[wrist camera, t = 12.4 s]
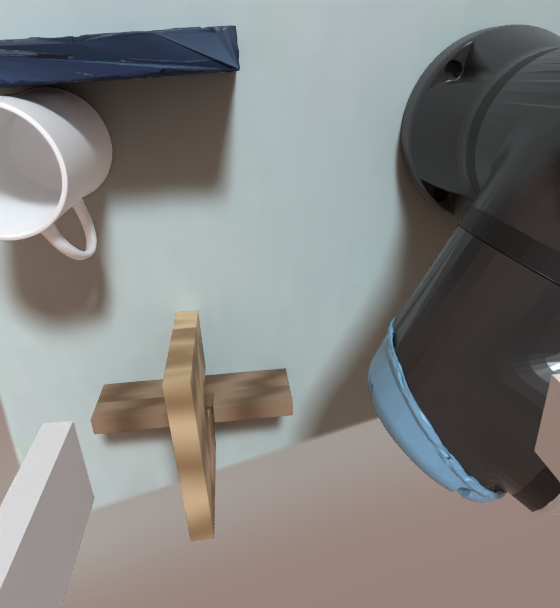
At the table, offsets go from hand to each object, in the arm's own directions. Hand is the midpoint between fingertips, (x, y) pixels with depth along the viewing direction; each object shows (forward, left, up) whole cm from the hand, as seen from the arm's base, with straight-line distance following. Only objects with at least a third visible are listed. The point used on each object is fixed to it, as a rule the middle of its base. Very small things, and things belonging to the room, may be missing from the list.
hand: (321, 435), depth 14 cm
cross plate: (+7, +19, -32) cm, 38 cm away
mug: (+15, -3, -32) cm, 35 cm away
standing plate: (+7, +19, -32) cm, 38 cm away
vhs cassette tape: (+10, -10, -32) cm, 35 cm away
